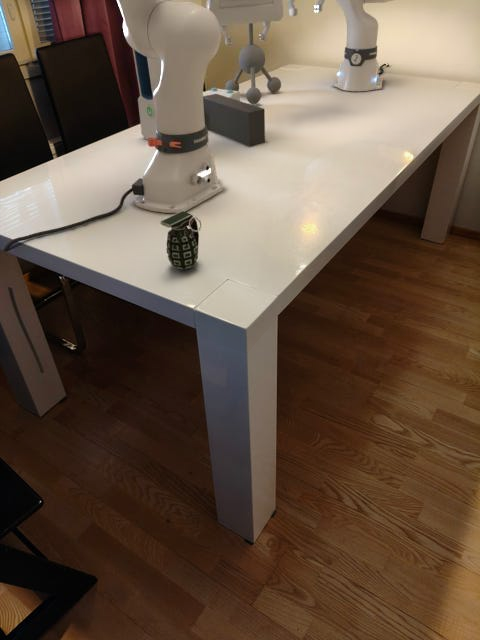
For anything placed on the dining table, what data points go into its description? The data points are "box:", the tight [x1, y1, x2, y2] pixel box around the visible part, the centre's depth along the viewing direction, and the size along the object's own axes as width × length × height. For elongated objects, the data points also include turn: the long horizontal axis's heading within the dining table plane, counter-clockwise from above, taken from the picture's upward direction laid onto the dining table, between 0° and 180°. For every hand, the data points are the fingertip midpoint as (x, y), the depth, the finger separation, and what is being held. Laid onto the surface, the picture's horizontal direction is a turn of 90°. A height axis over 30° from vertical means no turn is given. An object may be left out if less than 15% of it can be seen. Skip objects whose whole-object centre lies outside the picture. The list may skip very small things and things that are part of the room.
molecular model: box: [224, 23, 282, 105], centre depth 179 cm, size 24×22×30 cm
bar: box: [203, 94, 266, 147], centre depth 150 cm, size 26×6×10 cm, turn 35°
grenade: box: [159, 211, 202, 271], centre depth 88 cm, size 7×6×10 cm
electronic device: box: [132, 48, 161, 140], centre depth 143 cm, size 12×8×30 cm, turn 47°
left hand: (245, 43), depth 131 cm, fingers open, 8 cm apart
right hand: (306, 14), depth 142 cm, fingers open, 8 cm apart
